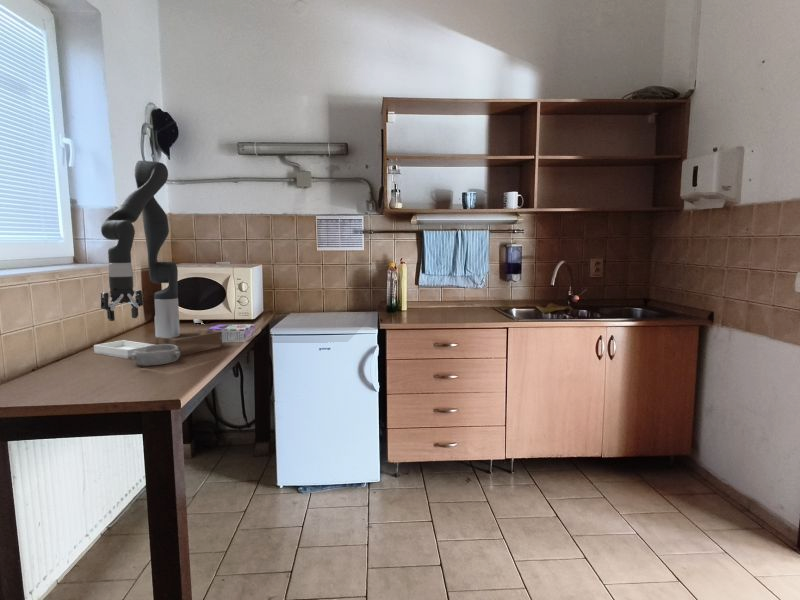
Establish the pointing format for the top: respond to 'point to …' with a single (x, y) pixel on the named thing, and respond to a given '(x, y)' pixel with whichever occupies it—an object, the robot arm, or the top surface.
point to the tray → (120, 348)
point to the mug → (198, 321)
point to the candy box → (235, 332)
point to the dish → (156, 355)
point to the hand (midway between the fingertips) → (123, 319)
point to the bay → (195, 342)
